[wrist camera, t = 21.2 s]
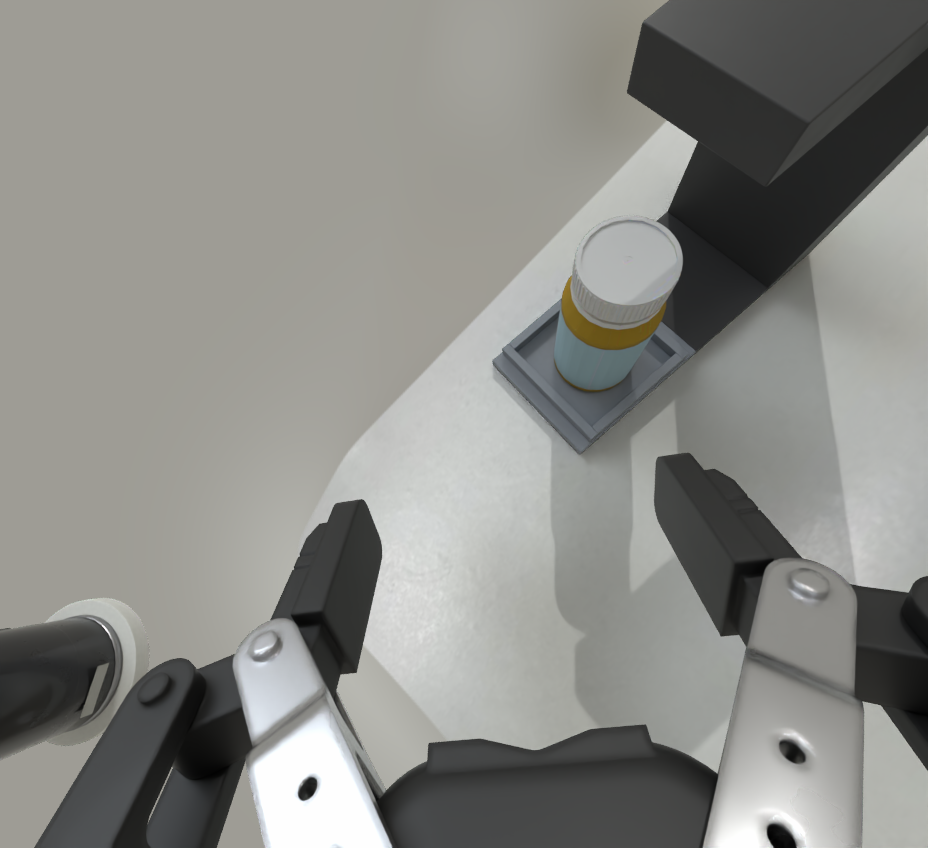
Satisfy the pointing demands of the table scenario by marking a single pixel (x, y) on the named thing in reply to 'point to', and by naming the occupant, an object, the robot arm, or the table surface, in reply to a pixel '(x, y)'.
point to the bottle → (614, 300)
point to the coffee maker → (749, 165)
